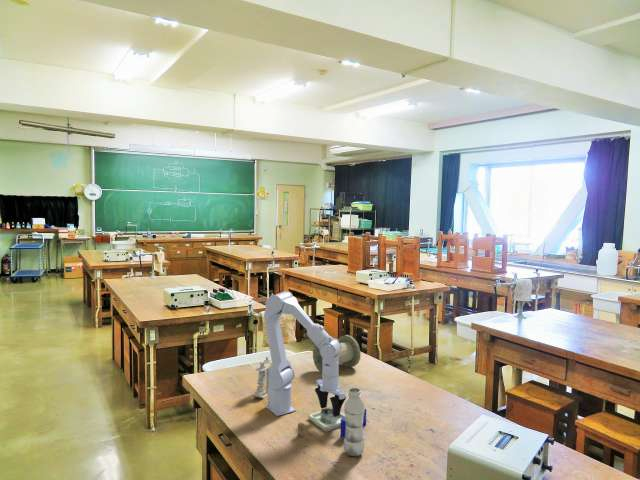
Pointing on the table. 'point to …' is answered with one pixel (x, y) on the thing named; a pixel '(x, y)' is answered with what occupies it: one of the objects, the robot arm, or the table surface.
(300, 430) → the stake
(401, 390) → the table surface
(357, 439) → the plastic bottle
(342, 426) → the cable clip
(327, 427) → the tray
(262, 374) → the white figurine
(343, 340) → the spool
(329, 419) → the grey octagonal ring
